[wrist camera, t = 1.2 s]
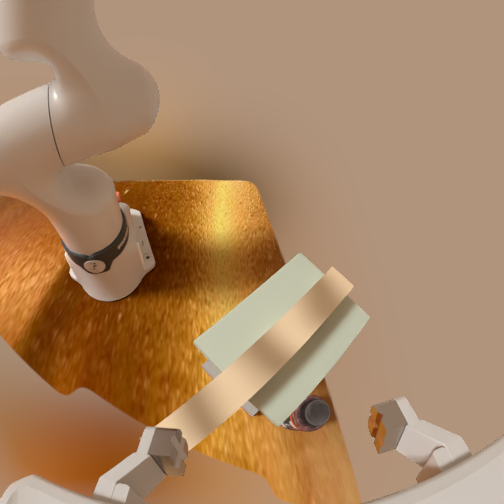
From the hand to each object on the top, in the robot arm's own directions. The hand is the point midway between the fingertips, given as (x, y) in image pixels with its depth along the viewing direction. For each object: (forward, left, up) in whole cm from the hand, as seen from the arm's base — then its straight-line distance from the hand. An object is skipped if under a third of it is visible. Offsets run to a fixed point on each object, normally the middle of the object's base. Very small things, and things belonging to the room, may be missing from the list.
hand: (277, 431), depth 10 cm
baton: (-4, +3, -11) cm, 12 cm away
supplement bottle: (+3, +12, -37) cm, 39 cm away
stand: (-7, +7, -37) cm, 38 cm away
